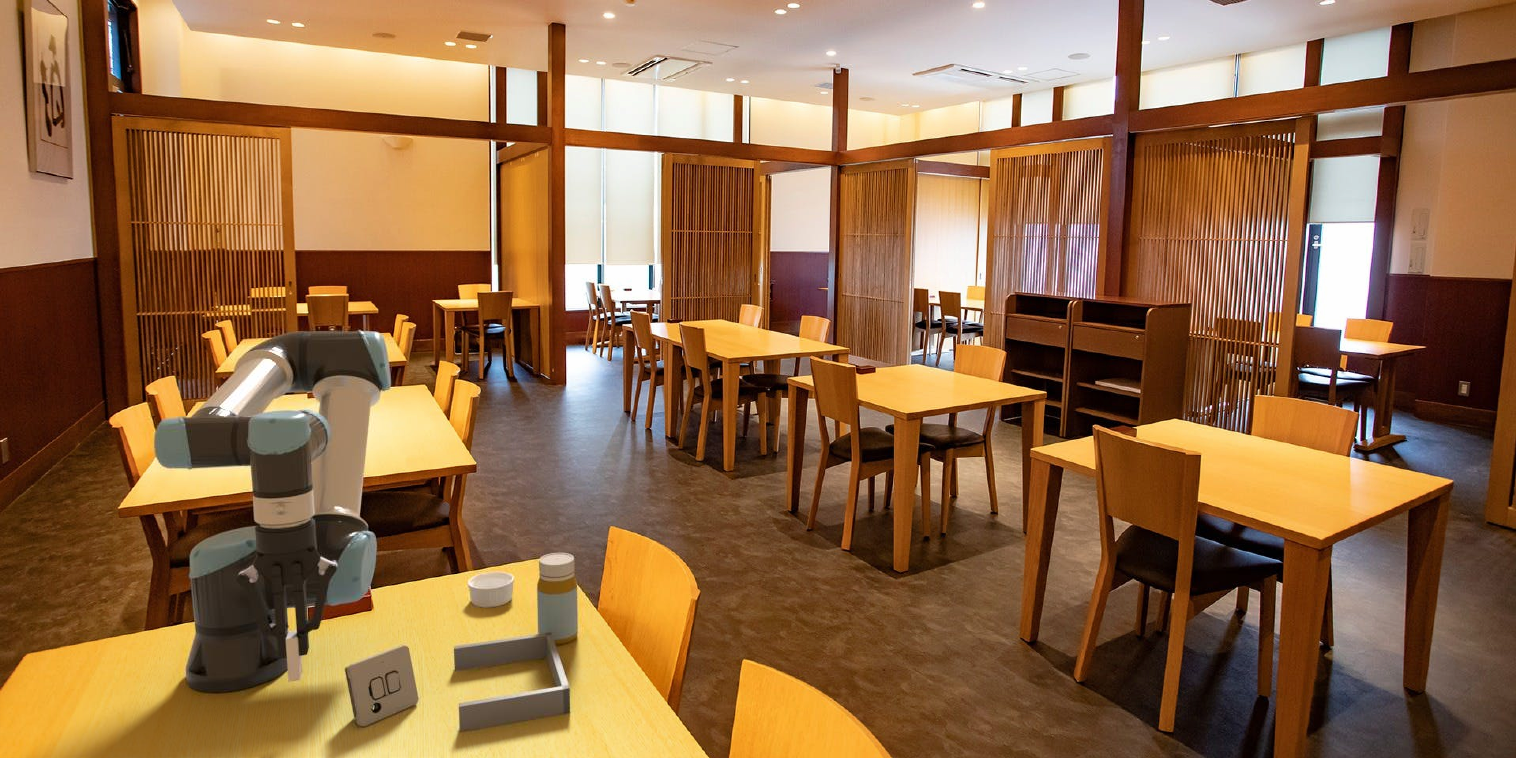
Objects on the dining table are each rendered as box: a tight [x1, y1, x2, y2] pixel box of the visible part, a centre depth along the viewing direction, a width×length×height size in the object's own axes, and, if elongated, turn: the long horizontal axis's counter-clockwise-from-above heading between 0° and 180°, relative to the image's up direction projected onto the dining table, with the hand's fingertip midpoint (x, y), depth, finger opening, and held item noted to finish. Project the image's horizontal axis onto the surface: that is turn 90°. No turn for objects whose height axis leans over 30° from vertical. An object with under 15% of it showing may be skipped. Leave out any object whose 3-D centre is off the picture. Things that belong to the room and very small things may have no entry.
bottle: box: [536, 552, 579, 646], centre depth 155 cm, size 7×7×15 cm
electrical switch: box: [344, 644, 420, 727], centre depth 131 cm, size 9×5×9 cm, turn 141°
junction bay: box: [453, 632, 571, 733], centre depth 138 cm, size 20×16×4 cm
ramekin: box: [467, 571, 515, 608], centre depth 172 cm, size 9×9×4 cm
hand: (295, 676), depth 125 cm, fingers closed
